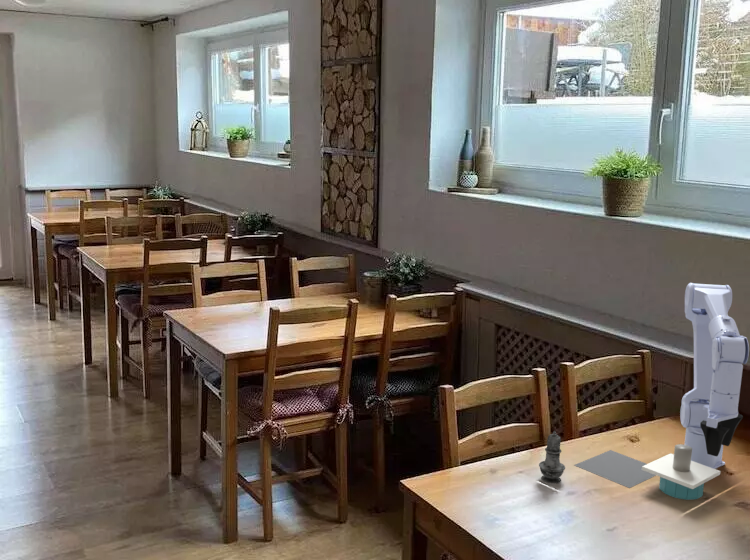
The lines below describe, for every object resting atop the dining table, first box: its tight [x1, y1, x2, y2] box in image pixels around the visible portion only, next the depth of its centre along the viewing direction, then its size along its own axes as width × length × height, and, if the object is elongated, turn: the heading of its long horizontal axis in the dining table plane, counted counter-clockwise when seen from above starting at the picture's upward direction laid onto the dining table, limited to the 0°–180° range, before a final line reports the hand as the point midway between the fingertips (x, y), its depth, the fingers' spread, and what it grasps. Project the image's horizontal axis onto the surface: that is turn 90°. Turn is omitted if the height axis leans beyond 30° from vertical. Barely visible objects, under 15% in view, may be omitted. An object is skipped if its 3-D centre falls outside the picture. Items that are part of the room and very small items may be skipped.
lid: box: [642, 443, 722, 489], centre depth 176 cm, size 12×12×6 cm
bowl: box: [658, 477, 705, 501], centre depth 177 cm, size 9×9×4 cm
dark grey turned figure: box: [538, 430, 566, 486], centre depth 180 cm, size 6×6×12 cm
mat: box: [573, 449, 657, 489], centre depth 188 cm, size 15×15×1 cm
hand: (718, 449), depth 175 cm, fingers open, 7 cm apart
